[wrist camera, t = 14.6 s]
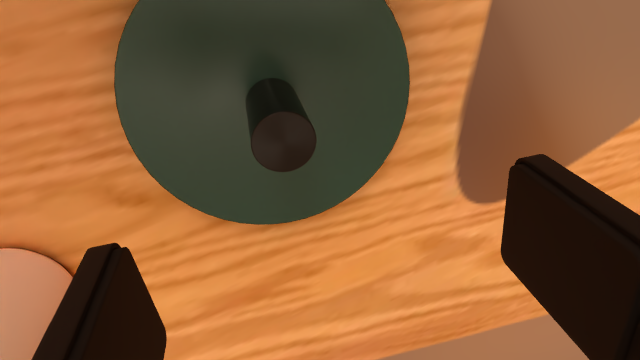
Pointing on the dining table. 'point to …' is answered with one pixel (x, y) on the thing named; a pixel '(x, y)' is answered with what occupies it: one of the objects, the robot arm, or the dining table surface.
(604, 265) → the robot arm
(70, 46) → the dining table surface
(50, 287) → the can
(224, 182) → the lid
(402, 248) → the dining table surface
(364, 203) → the dining table surface
